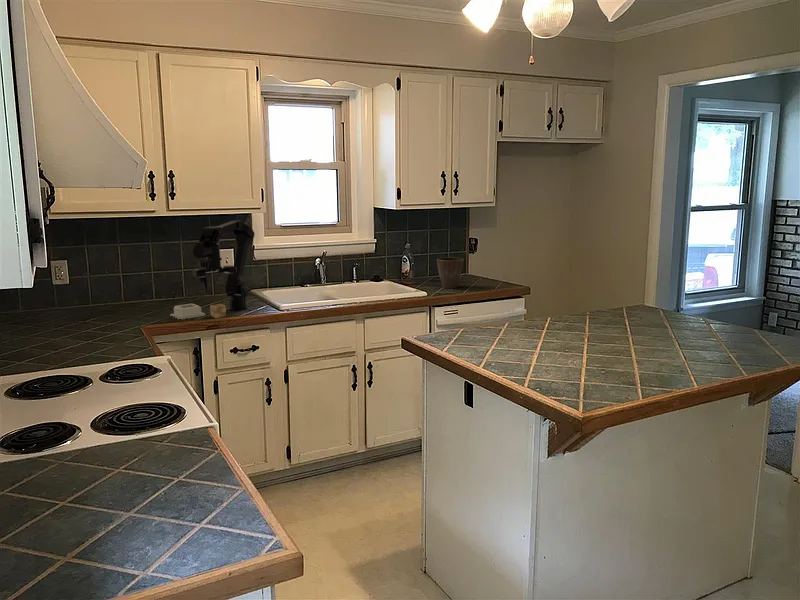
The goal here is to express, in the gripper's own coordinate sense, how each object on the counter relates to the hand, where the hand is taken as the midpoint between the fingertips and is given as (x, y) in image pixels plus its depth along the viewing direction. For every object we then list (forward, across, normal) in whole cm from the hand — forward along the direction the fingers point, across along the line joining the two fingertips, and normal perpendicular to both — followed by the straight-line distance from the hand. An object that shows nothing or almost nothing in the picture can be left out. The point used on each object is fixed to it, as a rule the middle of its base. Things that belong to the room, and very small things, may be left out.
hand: (215, 290), depth 286 cm
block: (+12, 0, 0) cm, 12 cm away
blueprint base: (+12, +10, -10) cm, 18 cm away
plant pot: (+13, -128, +19) cm, 130 cm away
